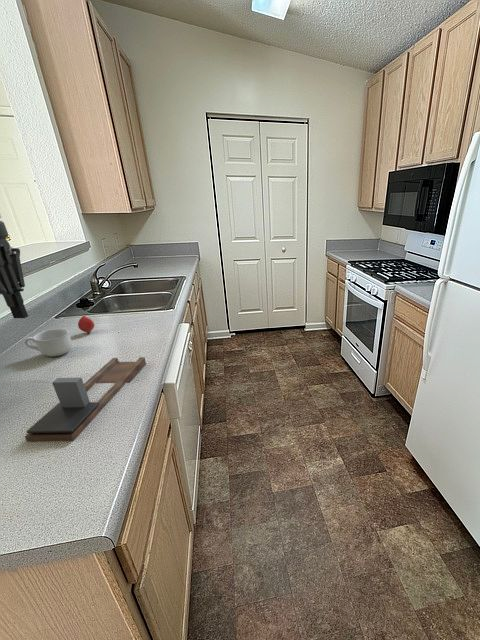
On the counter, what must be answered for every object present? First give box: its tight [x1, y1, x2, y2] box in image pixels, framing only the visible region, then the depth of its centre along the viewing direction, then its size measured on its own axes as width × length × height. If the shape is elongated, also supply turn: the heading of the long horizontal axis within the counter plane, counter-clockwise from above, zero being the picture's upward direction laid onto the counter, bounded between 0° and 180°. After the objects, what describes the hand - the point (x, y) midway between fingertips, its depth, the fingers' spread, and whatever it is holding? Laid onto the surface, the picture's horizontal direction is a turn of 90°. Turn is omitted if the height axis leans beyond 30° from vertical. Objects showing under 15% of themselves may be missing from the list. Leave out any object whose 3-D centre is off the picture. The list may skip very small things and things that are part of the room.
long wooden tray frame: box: [24, 356, 147, 443], centre depth 97 cm, size 42×11×3 cm, turn 1°
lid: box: [26, 377, 99, 434], centre depth 81 cm, size 12×11×8 cm
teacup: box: [24, 328, 73, 358], centre depth 123 cm, size 14×11×8 cm
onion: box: [77, 314, 95, 334], centre depth 142 cm, size 6×6×8 cm
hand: (21, 317), depth 87 cm, fingers closed
